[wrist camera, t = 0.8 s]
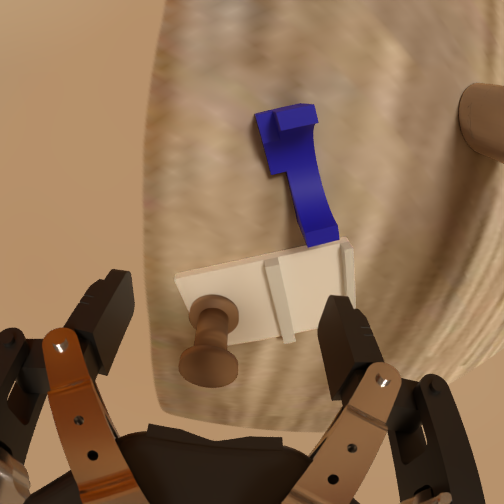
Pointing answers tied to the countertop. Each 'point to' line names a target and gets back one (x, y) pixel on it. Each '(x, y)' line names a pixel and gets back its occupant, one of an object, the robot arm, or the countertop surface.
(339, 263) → the ridged board
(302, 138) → the cable clip
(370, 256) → the countertop surface
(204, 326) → the walnut knob
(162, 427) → the robot arm
